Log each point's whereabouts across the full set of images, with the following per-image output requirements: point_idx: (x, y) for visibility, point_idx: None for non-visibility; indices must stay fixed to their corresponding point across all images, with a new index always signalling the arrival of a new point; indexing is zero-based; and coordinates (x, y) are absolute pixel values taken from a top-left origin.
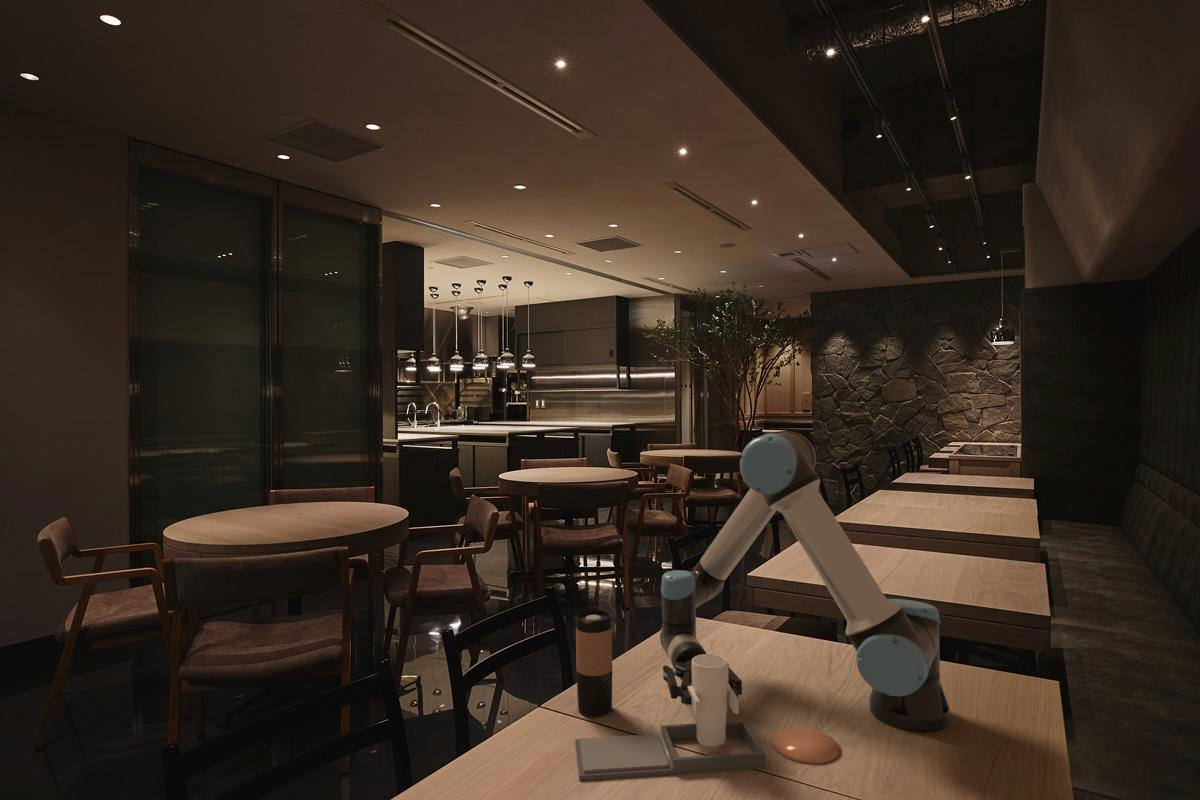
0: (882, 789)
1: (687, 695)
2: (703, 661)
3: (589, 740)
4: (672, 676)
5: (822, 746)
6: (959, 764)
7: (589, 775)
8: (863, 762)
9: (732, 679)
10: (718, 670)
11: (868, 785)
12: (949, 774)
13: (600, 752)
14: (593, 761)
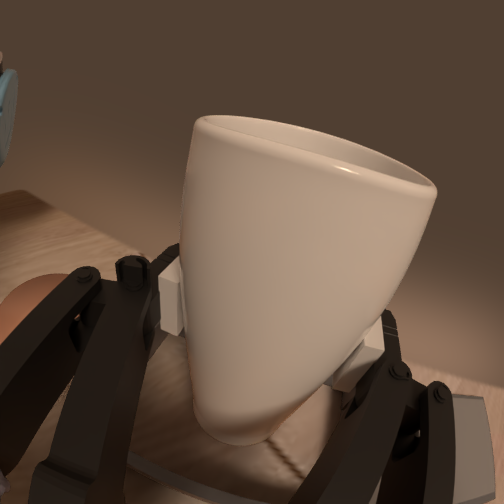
0: (93, 230)
1: (385, 317)
2: (320, 232)
3: (484, 486)
4: (435, 501)
5: (38, 294)
6: (9, 218)
7: (473, 396)
8: (45, 257)
9: (130, 257)
10: (301, 143)
11: (95, 238)
12: (30, 216)
13: (471, 445)
14: (476, 420)
